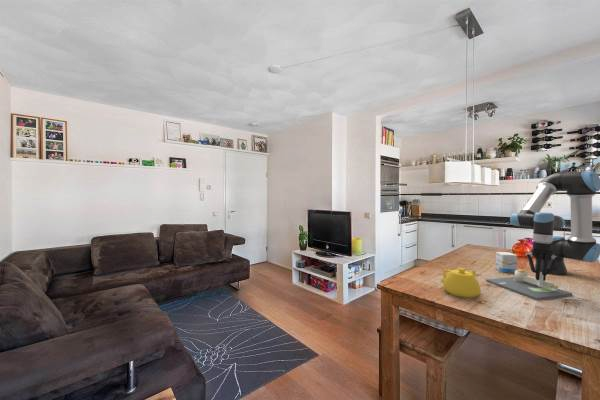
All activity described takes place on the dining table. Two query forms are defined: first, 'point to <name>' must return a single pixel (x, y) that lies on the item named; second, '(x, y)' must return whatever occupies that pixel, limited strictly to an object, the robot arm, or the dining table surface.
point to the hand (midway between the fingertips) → (540, 286)
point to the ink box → (506, 262)
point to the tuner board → (528, 288)
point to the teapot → (461, 283)
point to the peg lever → (531, 279)
